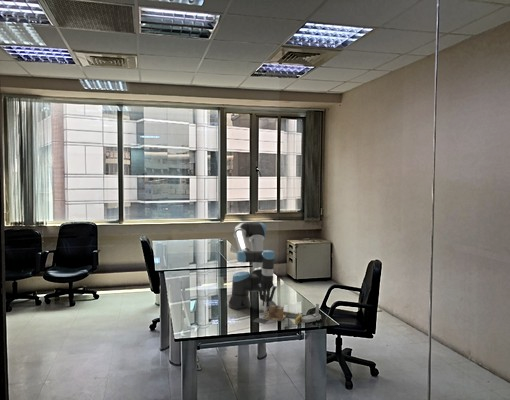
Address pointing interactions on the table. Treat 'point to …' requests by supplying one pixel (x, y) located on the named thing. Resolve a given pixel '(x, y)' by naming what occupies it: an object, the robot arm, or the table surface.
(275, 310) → the clip block
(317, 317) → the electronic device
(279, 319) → the deck
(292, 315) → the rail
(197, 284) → the table surface
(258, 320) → the mat
